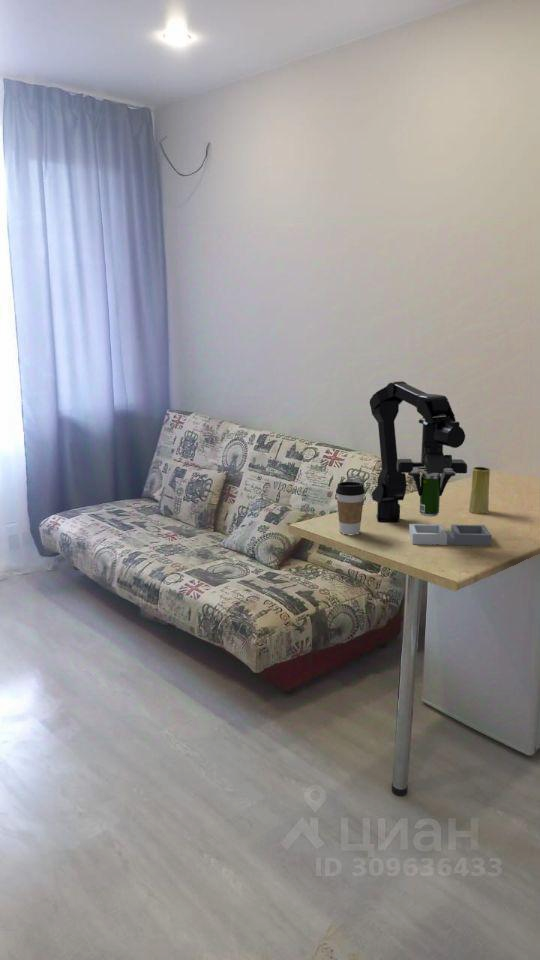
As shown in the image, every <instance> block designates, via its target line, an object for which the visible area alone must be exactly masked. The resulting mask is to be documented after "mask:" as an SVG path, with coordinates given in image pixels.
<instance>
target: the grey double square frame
mask: <svg viewBox="0 0 540 960" xmlns="http://www.w3.org/2000/svg"><path fill="white" fill-rule="evenodd" d="M408 526H409V529H408V534H409V538H410V540H411V543H412V545H432V544H434V545H435V544H439V545H440V546H442V545H443V546H447V545H448V546H492V534H491V532H490V531H489V529H488V528H487V527H486V525H485V524H451V525H450V530H446V529H445V527H444V525H443V524H441V523H440V524H436V523H434V524H433V523H430V524H429V523H409V525H408ZM434 545H433V546H434ZM435 546H436V545H435Z"/></svg>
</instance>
